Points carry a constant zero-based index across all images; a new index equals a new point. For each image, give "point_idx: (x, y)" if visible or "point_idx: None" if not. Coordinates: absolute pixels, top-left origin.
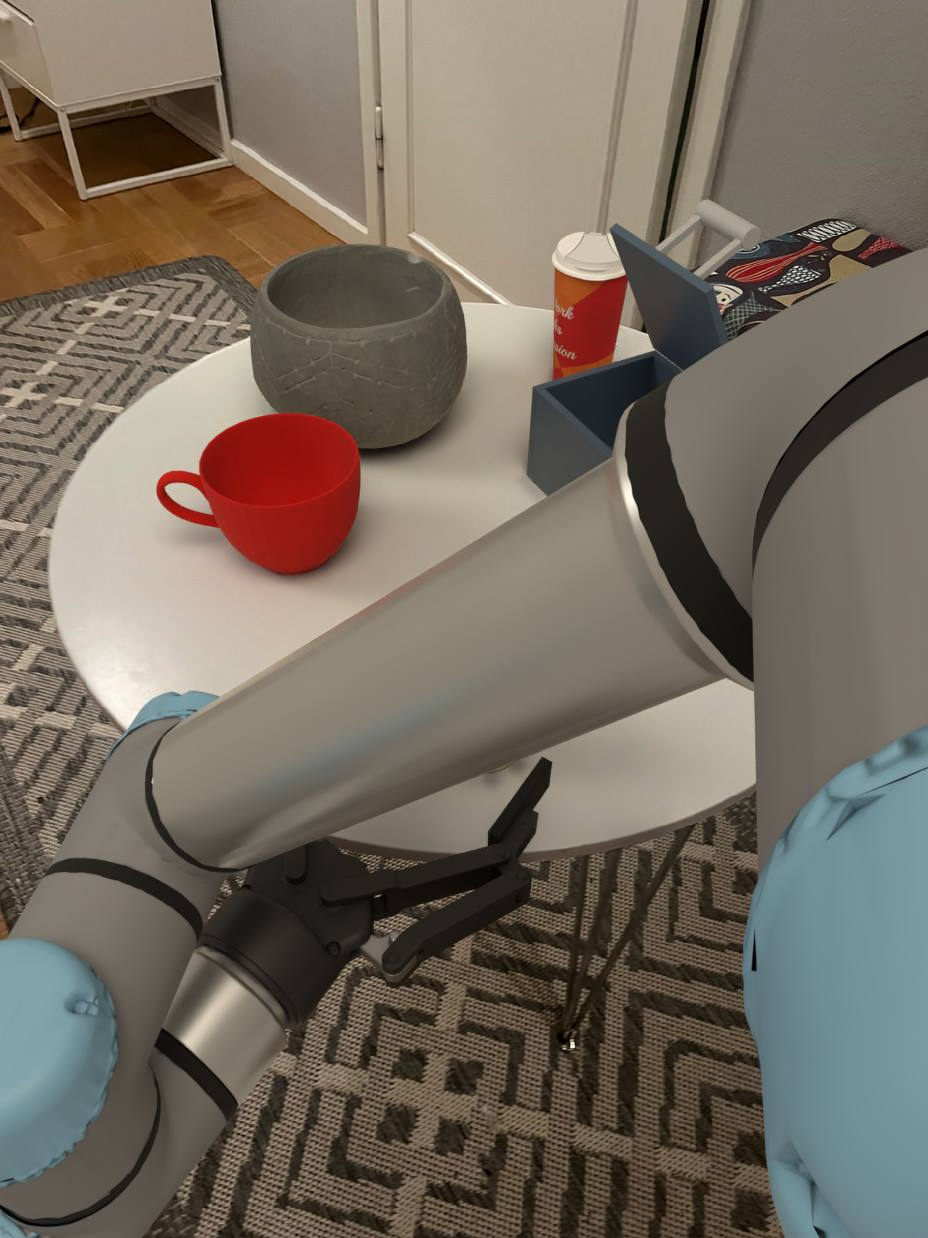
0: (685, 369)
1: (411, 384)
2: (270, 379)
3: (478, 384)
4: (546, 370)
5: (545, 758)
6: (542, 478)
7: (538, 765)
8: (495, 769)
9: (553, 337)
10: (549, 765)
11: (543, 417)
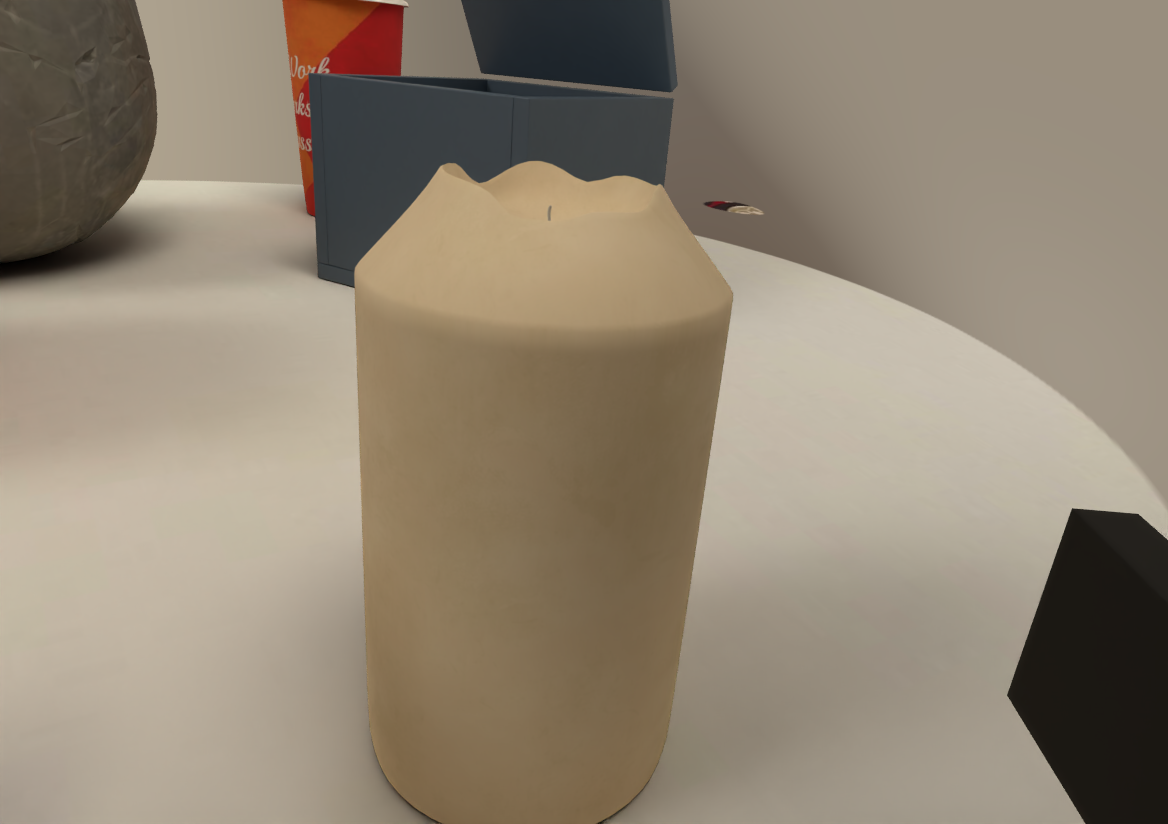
0: (552, 69)
1: (33, 51)
2: None
3: (180, 219)
4: (292, 208)
5: (1093, 512)
6: (356, 261)
7: (1120, 543)
8: (630, 792)
9: (298, 136)
10: (1154, 529)
11: (342, 123)
